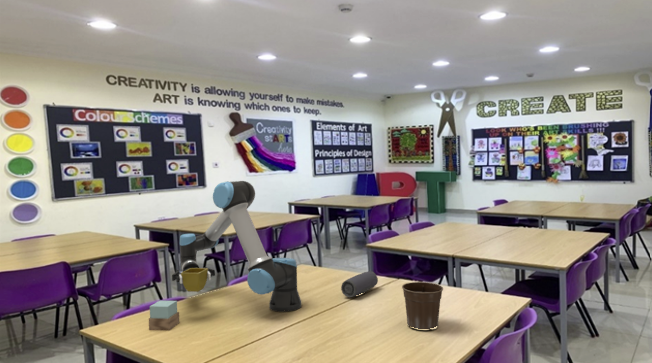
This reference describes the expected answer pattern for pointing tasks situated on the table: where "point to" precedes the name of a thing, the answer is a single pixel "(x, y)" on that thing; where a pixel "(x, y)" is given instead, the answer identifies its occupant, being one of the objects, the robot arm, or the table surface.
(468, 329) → the table surface
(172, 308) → the tower top
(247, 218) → the robot arm
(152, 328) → the tower base
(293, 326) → the table surface
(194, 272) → the flower pot
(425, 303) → the plant pot
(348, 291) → the bluetooth speaker
